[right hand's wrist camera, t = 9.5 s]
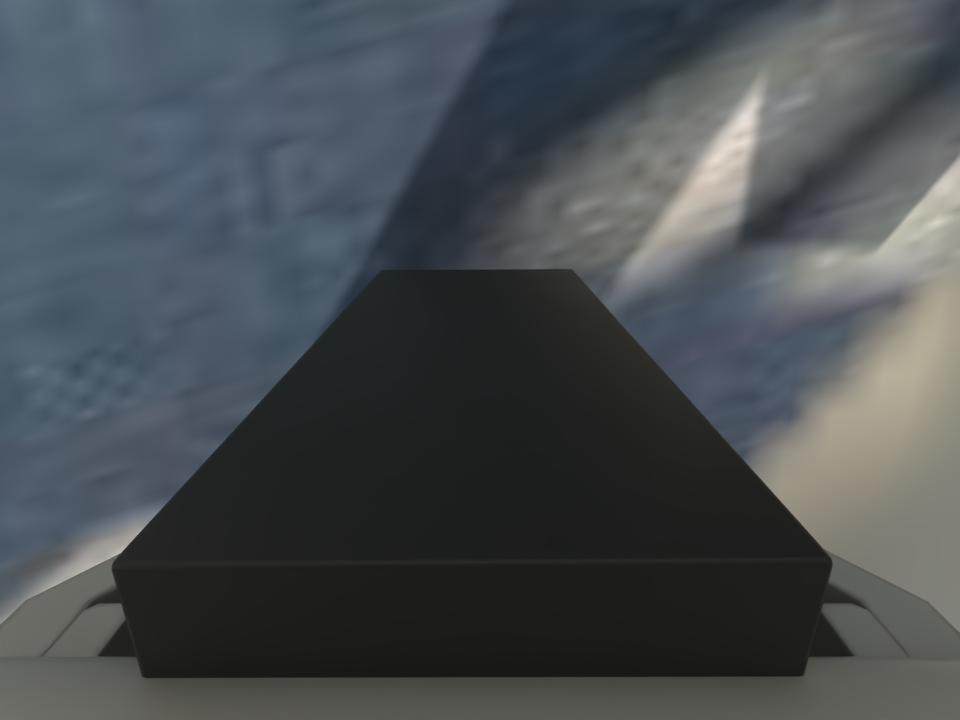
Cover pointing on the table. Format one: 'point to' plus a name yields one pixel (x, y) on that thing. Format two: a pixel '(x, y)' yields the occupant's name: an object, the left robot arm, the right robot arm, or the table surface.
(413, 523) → the box
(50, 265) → the table surface
